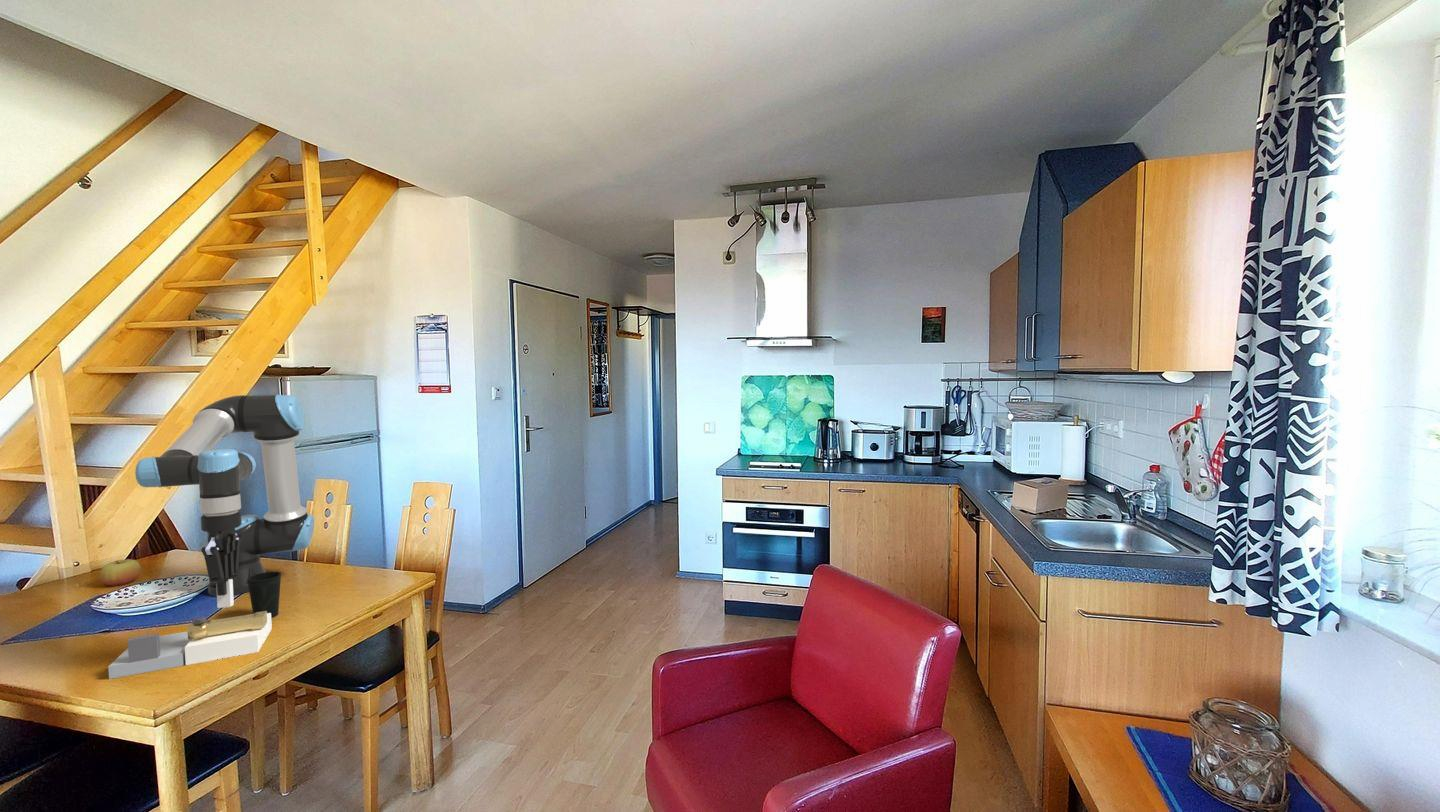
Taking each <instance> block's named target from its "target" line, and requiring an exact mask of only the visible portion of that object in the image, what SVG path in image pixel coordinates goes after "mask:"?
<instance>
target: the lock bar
mask: <svg viewBox="0 0 1440 812" xmlns="http://www.w3.org/2000/svg"><path fill="white" fill-rule="evenodd" d="M266 623H267V611H262V612H256V613H255V614H253V613H250V614H244V615H238V616H231V617H226V618H218V619H213V620H212V619H211V620H209V619H208V620H207V619H205V622H204V623H202V624H198V625H193V624H192V622H191V623H190V624H188V625H187V626H186V630H187V631H186V632H187V633H188V639H190V640H194V639H200V638H204V637H206V636H210V635H216V634H222V633H228V632H234V631H241V630H247V629H252V630H253V629H259V628H264V626H265V625H266Z"/></svg>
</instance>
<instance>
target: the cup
mask: <svg viewBox="0 0 1440 812" xmlns="http://www.w3.org/2000/svg"><path fill="white" fill-rule="evenodd" d="M281 578H282V573H281V572H279V571H267V572H265V573H260V574H256V575H253V576H251V577H249V578H248V579H247V581H248V587H249V592H248V593H249V598H250V604H251V609H252V614H255V613H256V612H262V611H267V613H271V619H272V618H275V617H277V616H278V615H279V609H280V596H281V595H280V591H281V582H282V581H281Z"/></svg>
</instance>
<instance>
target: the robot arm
mask: <svg viewBox="0 0 1440 812" xmlns="http://www.w3.org/2000/svg"><path fill="white" fill-rule="evenodd" d="M304 412H305V411H304V408H303V405H302V404H301V402H300V400H299V398H297V397H296V396H294V395H291V394H290V395H289V394H288V395H287V394H259V395H257V394H255V395H245V394H243V395H233V396H229V397H225V398H222V399H219V400H217V401H214V402H212V403H211V404H208V405H206V406H205V407H204V408H202V409H201V410H199V411H198V412H197V413H196V414H195V416H194V417H193V419H192V424H191V425H190V426H189V427H188V428H186V430H185V431H184V432H183V433H182V434H181V435H180V436H179V437H178V438H177V439H176V440H175V441H174V442H173V443H172V444H171V445H170V446H169V447H168V449H166V450H165V451H164V452H163V453H162V454H161V455H160V456H152V457H144V458H141V459H139V461H138V462H137V464H136V466H135V470H134V471H135V473H134V474H135V475H134V476H135V479H136V482H137V484H138V485H139V486H140V487H143V488H159V489H160V488H164V487H178V486H181V487H182V486H192V485H194V486H195V485H196V486H197V485H199V486H198V487H199V498H200V499H199V501H198V504H199V505H200V507H199V508H200V514H202V515H201V517H200V528H201V531H203V532H206V533H208V538H207V543H208V544H207V546H203V547H202V548H201V553H202V555H203V557H204V561H205V566H206V570H207V576H208V579H209V582H208V586H207V594H208V595H210V596H212V597H216V604H217V605H216V607H217V609H221V608H222V609H223V608H230V607H232V606H234V605H235V603H234V600H235V599H234V596H235V595H241V594H246V593H249V587H248V581H247V579H248V578H249V577H251V576H253V575H256V574H260V573H265V572H266V569H265V567H264V566H263V563H262V562H261V555H267V554H276V553H287V552H296V551H301V550H305V549H307V548H308V547H309V546H310V544H311V542H312V538H313V535H314V528H315V517H314V515H313V514H310V513H309V514H308V510H307V508H306V507H304V506H303V505H301V493H300V488H299V487H300V483H299V476H298V465H297V455H296V443H295V439H296V438H297V437H299V436H300V432H301V431H303V430H304V428H305V423H306V422H305V413H304ZM234 433H235V434H236V433H253V439H254V440H255V441H257V442H259V443H260V447H261V454H262V455H261V456H262V457H261V458H262V465H263V472H264V480H265V489H266V501H267V506H268V510H267V511H266V513H264V515H263V518H260V516H259V515H258V514H256V513H255V514H244V515H242V512H241V511H240V510H241V509H242V502H241V501H242V500H241V488H240V487H241V486H240V485H241V484H240V482H242V481H245V480H246V479H248V478H249V477H250V476H251V475H252V474H253V473H254V472H255V470H256V467H257V463H256V461H255V459H254V457H253V456H252V455H251V454H249V453H248V452H244V451H243V452H242V451H238V450H236V449H233V448H232V449H231V448H229V449H227V448H225V449H213V448H214V447H215V446H216V445H217V444H218V442H219V441H220V440H221V439H223V438H226V437H228V436H229V435H230V434H234Z"/></svg>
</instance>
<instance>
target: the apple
mask: <svg viewBox="0 0 1440 812" xmlns="http://www.w3.org/2000/svg"><path fill="white" fill-rule="evenodd" d="M141 573H142V566H141V564H140V562H139V561H137V560H135V559H131V558H130V559H129V558H127V559H122V560H115V561H112V562H109V563H107V564H105V565H103V566H102V567H101V569H100V571H99V573H98V578H99V580H100V581H101V582H102V583H103V584H105V585H106V586H108V587H110V586H112V587H114V586H115V587H116V586H122V585H127V584H129V583H132V582H133V581H135V580H137V578H138V577H139V576H140V574H141Z"/></svg>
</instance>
